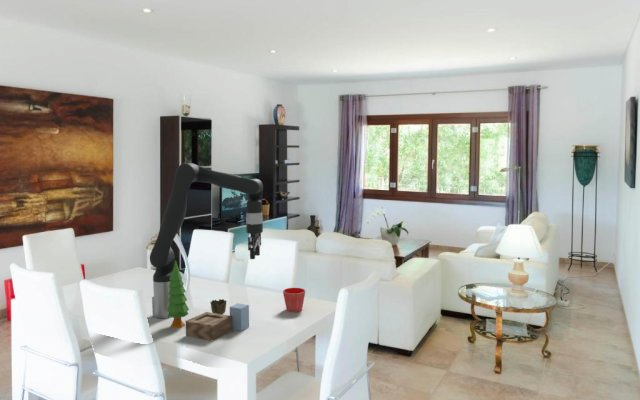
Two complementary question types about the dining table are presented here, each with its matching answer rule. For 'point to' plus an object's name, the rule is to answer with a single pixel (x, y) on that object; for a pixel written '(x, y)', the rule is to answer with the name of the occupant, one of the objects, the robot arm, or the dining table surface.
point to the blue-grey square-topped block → (239, 316)
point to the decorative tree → (177, 298)
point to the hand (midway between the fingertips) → (255, 257)
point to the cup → (218, 306)
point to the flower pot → (294, 299)
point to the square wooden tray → (209, 326)
